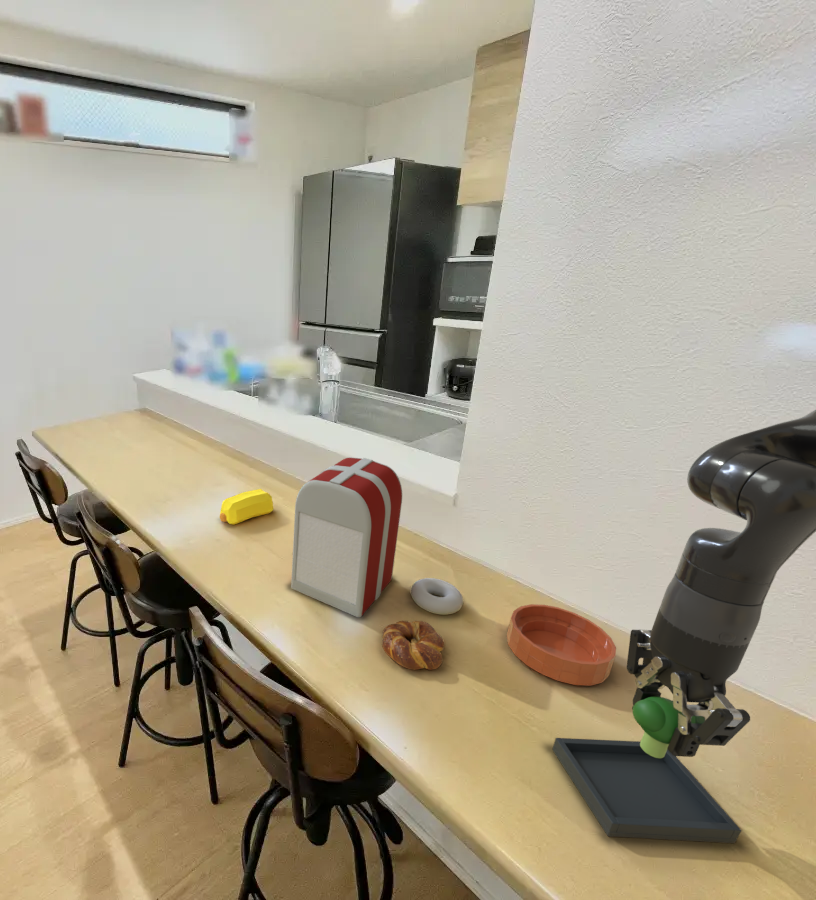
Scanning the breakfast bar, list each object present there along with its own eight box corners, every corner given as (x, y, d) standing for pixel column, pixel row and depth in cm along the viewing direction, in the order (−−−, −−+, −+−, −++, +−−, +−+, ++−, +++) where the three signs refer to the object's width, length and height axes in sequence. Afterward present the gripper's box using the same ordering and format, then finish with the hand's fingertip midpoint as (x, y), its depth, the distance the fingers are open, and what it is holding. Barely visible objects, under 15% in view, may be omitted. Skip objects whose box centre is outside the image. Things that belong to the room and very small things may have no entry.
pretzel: (396, 619, 97) (398, 604, 96) (454, 645, 90) (457, 629, 89) (369, 653, 89) (371, 636, 87) (431, 684, 82) (434, 667, 80)
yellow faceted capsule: (280, 512, 140) (263, 502, 147) (281, 491, 138) (264, 482, 144) (228, 530, 131) (212, 518, 137) (228, 507, 129) (212, 497, 135)
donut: (406, 585, 108) (412, 614, 98) (408, 572, 107) (414, 599, 97) (456, 592, 105) (466, 621, 96) (458, 578, 104) (469, 606, 95)
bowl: (572, 627, 95) (579, 605, 93) (630, 690, 80) (639, 665, 79) (491, 624, 95) (496, 603, 94) (534, 686, 81) (540, 662, 80)
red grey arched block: (393, 578, 110) (408, 466, 101) (360, 618, 97) (374, 494, 88) (326, 553, 120) (334, 449, 111) (288, 587, 107) (294, 473, 98)
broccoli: (663, 732, 64) (682, 688, 62) (698, 770, 59) (719, 723, 57) (609, 730, 65) (625, 685, 62) (639, 768, 60) (657, 721, 57)
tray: (658, 754, 70) (663, 742, 69) (735, 843, 59) (741, 830, 58) (551, 749, 71) (555, 737, 70) (607, 836, 60) (612, 823, 59)
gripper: (808, 669, 48) (746, 791, 54) (685, 583, 62) (646, 687, 68) (727, 666, 49) (674, 787, 55) (623, 581, 62) (589, 685, 68)
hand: (659, 731), depth 61 cm, fingers closed on broccoli, 5 cm apart
